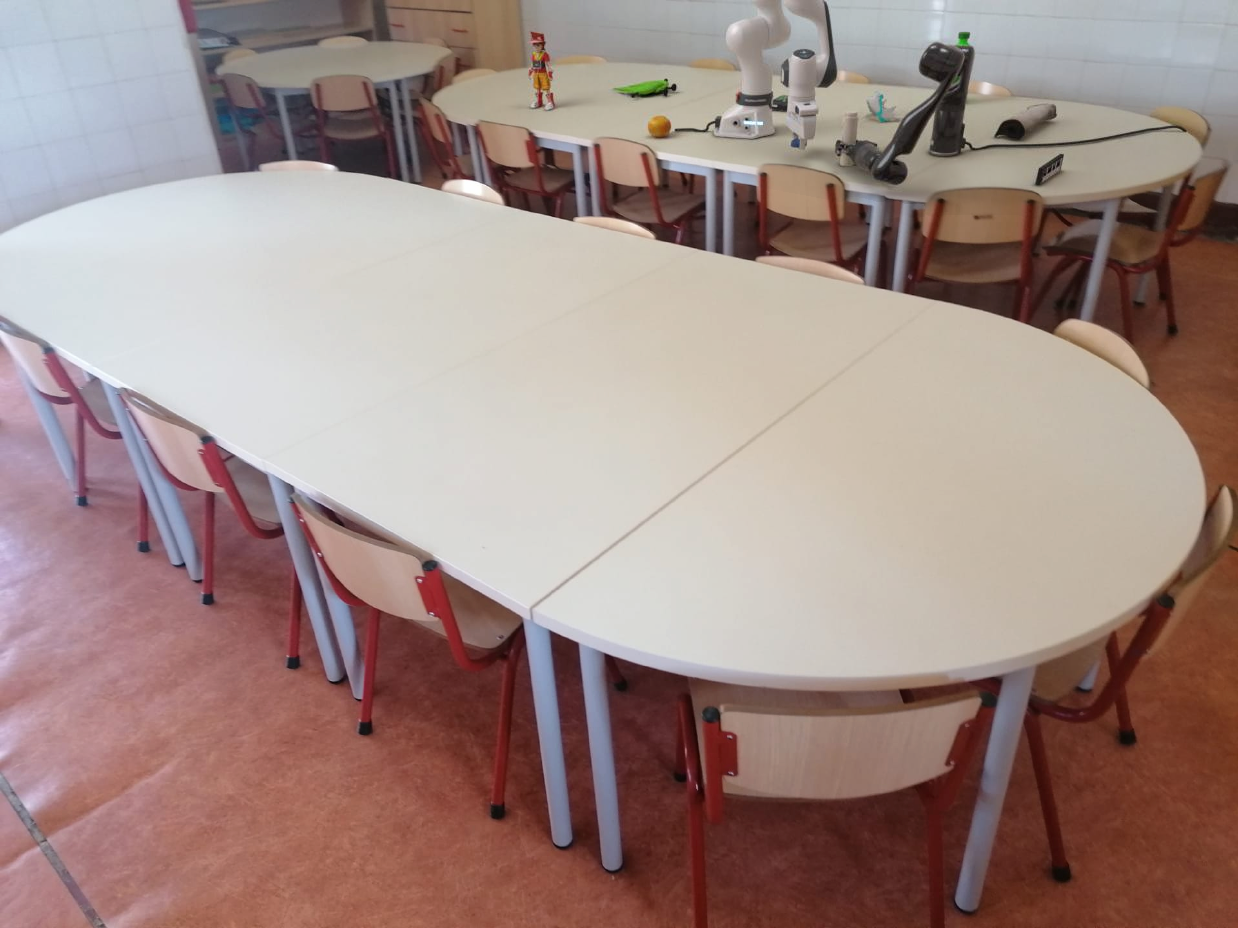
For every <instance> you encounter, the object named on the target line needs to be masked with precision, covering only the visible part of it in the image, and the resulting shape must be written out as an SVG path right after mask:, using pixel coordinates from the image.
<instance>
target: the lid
mask: <svg viewBox="0 0 1238 928" xmlns="http://www.w3.org/2000/svg"><path fill="white" fill-rule="evenodd" d="M799 144H800V138H799V139H795V140H793V139H792V140H791V141H790V147H791V148H795V149H799ZM807 146H808V141H807V142H806V144H805V148H806V147H807Z"/></svg>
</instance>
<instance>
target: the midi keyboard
mask: <svg viewBox="0 0 1238 928" xmlns="http://www.w3.org/2000/svg"><path fill="white" fill-rule="evenodd" d="M1064 157H1065V153H1059V154H1058V155H1056V156H1055V157H1052V159H1051V160H1049V161H1047V162H1045V164H1042V165H1041V166H1039V167H1038V169H1037V175H1036V179H1035V186H1040V185H1042V183H1044V182H1045V181H1047V180H1048V179H1049V178H1051V177H1052V176H1054V175H1055V174H1056V173H1058V172H1060V171H1061V170H1062V165H1063V161H1064Z"/></svg>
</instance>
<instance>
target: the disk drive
mask: <svg viewBox="0 0 1238 928" xmlns="http://www.w3.org/2000/svg"><path fill="white" fill-rule="evenodd" d="M787 108H788V94H782V95H779V96H778V97H775V98H773V106H772V111H778V112H779V111H781V112H787Z"/></svg>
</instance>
